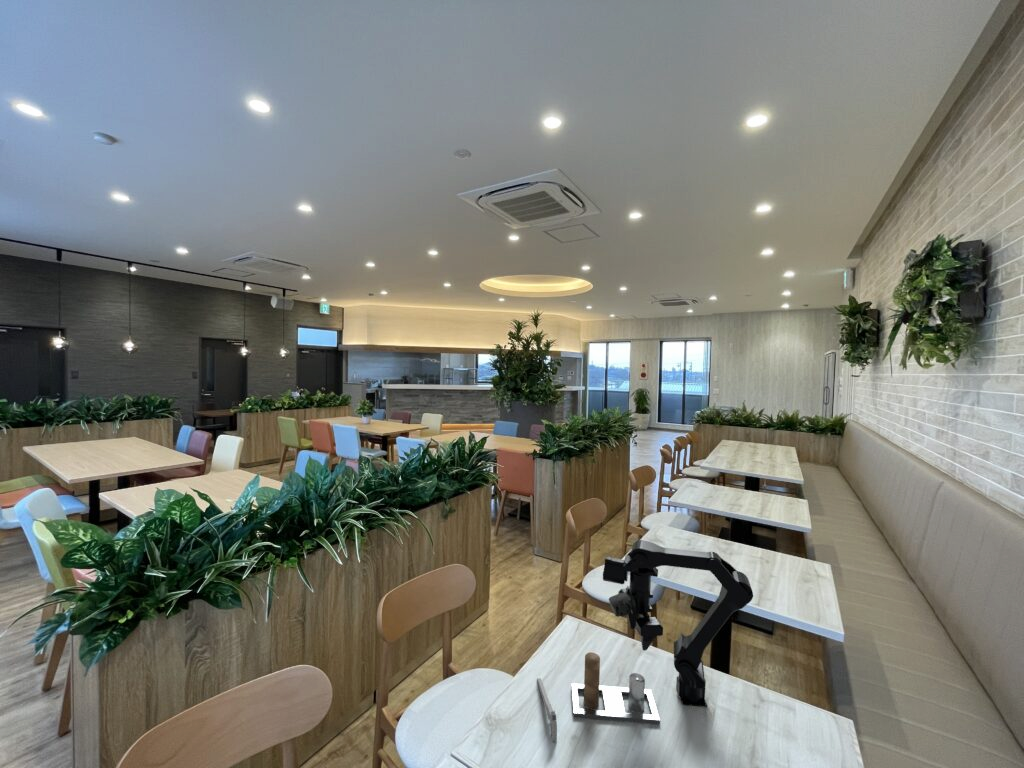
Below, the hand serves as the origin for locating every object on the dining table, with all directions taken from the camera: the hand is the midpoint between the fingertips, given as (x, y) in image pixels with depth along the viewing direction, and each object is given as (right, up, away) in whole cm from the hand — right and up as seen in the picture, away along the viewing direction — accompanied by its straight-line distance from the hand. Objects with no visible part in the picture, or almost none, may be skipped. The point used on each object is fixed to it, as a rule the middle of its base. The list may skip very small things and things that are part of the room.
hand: (638, 639), depth 122 cm
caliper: (-27, -14, -9) cm, 32 cm away
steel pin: (-3, -14, -8) cm, 16 cm away
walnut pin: (-15, -13, -7) cm, 21 cm away
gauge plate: (-9, -13, -7) cm, 18 cm away
